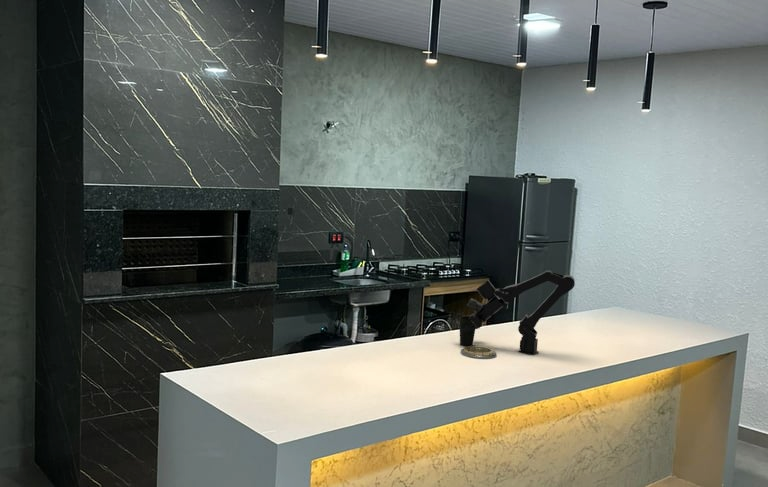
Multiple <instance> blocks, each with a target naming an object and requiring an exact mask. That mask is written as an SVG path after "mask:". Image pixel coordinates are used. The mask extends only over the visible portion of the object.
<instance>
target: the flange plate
mask: <svg viewBox="0 0 768 487" xmlns="http://www.w3.org/2000/svg"><path fill="white" fill-rule="evenodd" d="M460 354H461V355H462V356H463V357H466V358H472V359H478V360H492V359H495V358H497V352H496V351H494V349H492V348H490V347H487V346H479V345H473V346H464V347H463V348H462V349H460Z"/></svg>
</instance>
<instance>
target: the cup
mask: <svg viewBox="0 0 768 487" xmlns="http://www.w3.org/2000/svg"><path fill="white" fill-rule="evenodd" d="M469 317H470V316H467V315H466V316H465V315H464V316H459V320H458V321H459V345H460V346H462V347H467V346H474V339H475V334H476V329H474V330H471V331H467V332H462V330H463V329H464V327H465V326H466V325H467V324H468V323H469Z"/></svg>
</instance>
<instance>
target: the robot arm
mask: <svg viewBox="0 0 768 487" xmlns="http://www.w3.org/2000/svg"><path fill="white" fill-rule="evenodd" d="M546 282H550V283H553V284H554V285H557V286H555V289H554V290H553V291H552V292H551V293H550V295H549V296H548V297H546V299H544V301H543V302H542V303H541V304H540V305H539V306H538V308H536V310H535V311H533V313H532V314H530V315H528V314H527V313H526V314H525V316H524V317H523V318H522V319H520V321H519V323H518V324H519V325H518V328H517V329H518V330H517V331H518V332H519V334H520V335H521V339H520V341H519V350H518V353H522V354H527V355H535V354H538V353H539V351H538V342H539V341H538V340H539V339H538V338H537V335H538V331H537V330H536V326H537V324H538V322H539V321H540V320H541V318H543V316H544V315H545V314H546V313H547V312H548V311H549V310H550V309H551V308H552V307H553V306H554V305H555V304H556V303H557V302H558V300H559V299H560V298H561V297H563V296H564V295H566V294H567V293H569V292H570V291H572V289H574V287H575V284H576V280H575V278H574V277H573V276H572V275H569V274H566V275H564V274H560V273H557V272H554V271H551V270H545V271H544V272H541V273H540V274H538V275H536V276H534V277H532V278H529V279H527V280H525V281H522V282H520V283H515V284H511V285H507V286H505V287H504V288H495V286H494V285H493V284H492V282H491V281H490V280H489V279H487V280H486V281H485V282H483V283H481V285H479V286H478V287H477V288H476V291H477V292H478V294H479V296H481V297H482V298H483V300H488V301H487V302H484V303H481V302H480V301H478V300H476V299H474V298H472V297H471V298H470V299H469V300H468V301H467V302H468V303H467V304H466V307H468V308H471V309H472V310H474V311H473V313H472V314H471V315H470V316H469V323H468V324H467V325H466V326H465V327H464V329H463V330H462V332H467V331H471V330H474V329H475V330H479V329H480V328H481V327H483V325H484V323H485V322H486V321H487V320H488V319H490V318H491V317H493V315H495V314H496V313H497V312H499V310H501V309H502V308H504V310H508V308H509V302H510V301H512V300H514V299H516V298H517V297H519V296H520V295H521V294H523V293H524V292H526V291H529V290H531V289H533V288H535V287H537V286H539V285H541V284H544V283H546Z"/></svg>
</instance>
